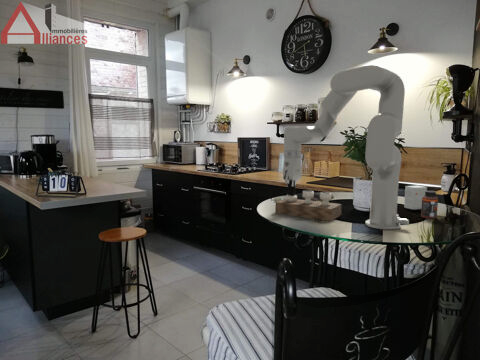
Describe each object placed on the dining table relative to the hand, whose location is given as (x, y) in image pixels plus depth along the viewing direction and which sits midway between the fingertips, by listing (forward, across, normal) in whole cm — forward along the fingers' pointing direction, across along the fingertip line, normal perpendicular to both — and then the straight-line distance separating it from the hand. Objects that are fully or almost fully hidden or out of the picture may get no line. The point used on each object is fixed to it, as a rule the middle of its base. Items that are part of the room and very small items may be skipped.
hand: (291, 194), depth 158 cm
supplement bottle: (+8, +23, -53) cm, 59 cm away
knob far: (+7, 0, 0) cm, 7 cm away
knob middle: (+4, 0, -8) cm, 9 cm away
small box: (+8, +41, -45) cm, 62 cm away
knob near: (+4, 0, -16) cm, 17 cm away
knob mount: (+8, 0, -8) cm, 11 cm away
